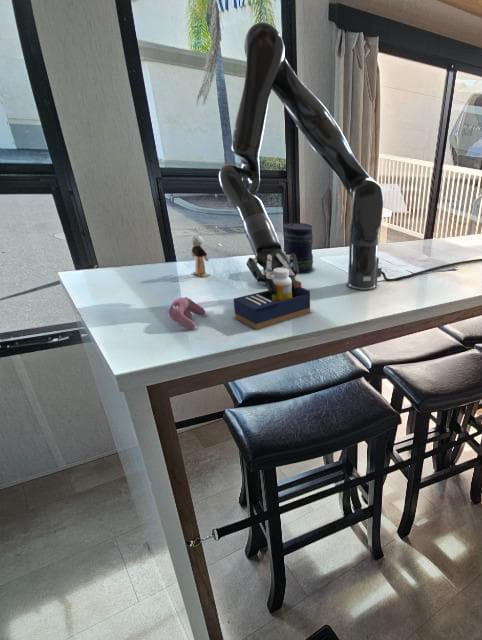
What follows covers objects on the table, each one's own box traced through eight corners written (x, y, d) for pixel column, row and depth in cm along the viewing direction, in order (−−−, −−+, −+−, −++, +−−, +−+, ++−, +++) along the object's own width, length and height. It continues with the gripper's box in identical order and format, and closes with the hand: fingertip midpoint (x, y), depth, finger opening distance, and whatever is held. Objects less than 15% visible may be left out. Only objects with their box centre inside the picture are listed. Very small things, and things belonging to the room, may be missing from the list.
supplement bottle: (268, 303, 116) (266, 268, 111) (285, 299, 120) (283, 265, 114) (279, 309, 113) (277, 274, 108) (296, 305, 117) (295, 271, 112)
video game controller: (193, 319, 112) (176, 296, 108) (208, 313, 111) (191, 289, 107) (179, 335, 103) (161, 311, 100) (195, 328, 103) (177, 303, 99)
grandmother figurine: (188, 274, 135) (181, 233, 129) (197, 271, 139) (191, 231, 132) (206, 279, 133) (201, 238, 127) (215, 276, 136) (210, 236, 130)
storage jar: (318, 269, 153) (318, 227, 145) (299, 275, 145) (298, 230, 138) (298, 263, 157) (297, 221, 149) (278, 268, 150) (276, 224, 142)
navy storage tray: (289, 303, 124) (288, 276, 120) (310, 312, 120) (310, 285, 115) (235, 318, 111) (232, 289, 107) (256, 329, 107) (253, 300, 103)
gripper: (239, 229, 107) (264, 289, 106) (290, 226, 115) (313, 282, 115) (232, 245, 113) (256, 302, 112) (281, 241, 121) (303, 294, 120)
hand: (285, 291), depth 113 cm, fingers closed on supplement bottle, 5 cm apart
